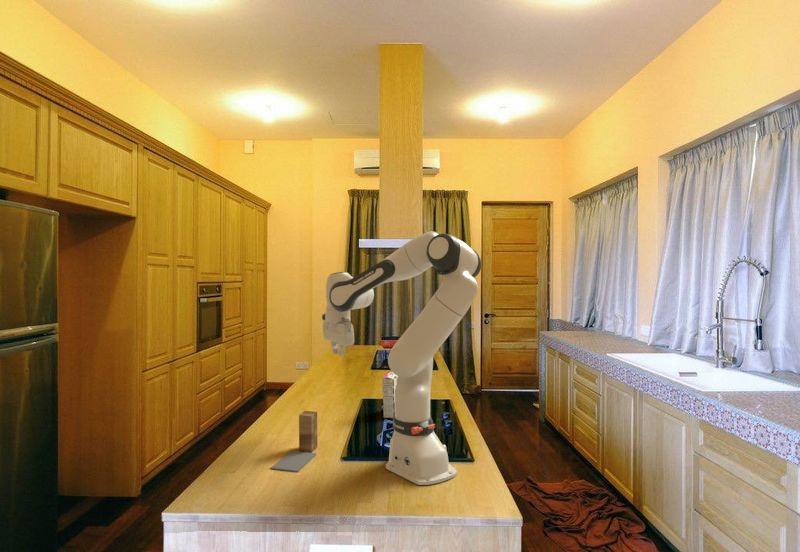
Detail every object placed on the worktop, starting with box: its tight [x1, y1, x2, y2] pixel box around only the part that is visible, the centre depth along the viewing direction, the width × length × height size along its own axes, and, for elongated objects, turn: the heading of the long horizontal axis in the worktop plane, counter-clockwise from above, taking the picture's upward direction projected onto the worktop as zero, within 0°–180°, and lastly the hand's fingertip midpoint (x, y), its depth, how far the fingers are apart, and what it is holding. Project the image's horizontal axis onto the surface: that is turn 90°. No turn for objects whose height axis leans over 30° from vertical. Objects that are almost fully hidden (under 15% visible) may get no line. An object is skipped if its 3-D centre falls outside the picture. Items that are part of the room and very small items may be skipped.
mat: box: [270, 450, 317, 473], centre depth 139 cm, size 13×9×1 cm
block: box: [298, 410, 318, 453], centre depth 149 cm, size 5×4×12 cm
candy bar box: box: [382, 371, 398, 419], centre depth 185 cm, size 11×5×16 cm, turn 168°
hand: (338, 354), depth 162 cm, fingers open, 4 cm apart
